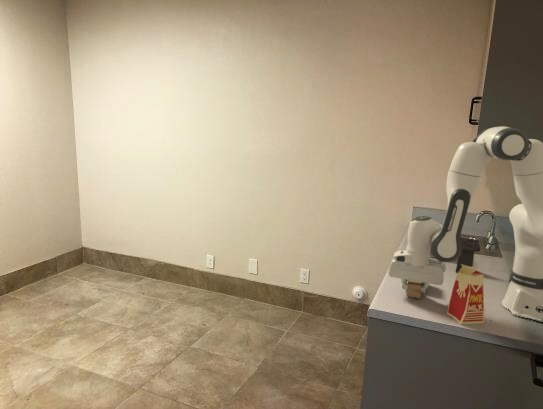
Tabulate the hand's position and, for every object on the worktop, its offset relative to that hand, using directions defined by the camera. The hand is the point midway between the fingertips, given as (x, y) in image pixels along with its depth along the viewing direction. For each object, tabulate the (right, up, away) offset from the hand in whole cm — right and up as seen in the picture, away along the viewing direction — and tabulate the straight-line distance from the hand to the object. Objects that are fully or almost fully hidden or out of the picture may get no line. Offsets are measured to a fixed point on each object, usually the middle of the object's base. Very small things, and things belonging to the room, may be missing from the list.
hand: (413, 290), depth 155 cm
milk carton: (+12, -6, -15) cm, 21 cm away
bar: (+3, 0, +12) cm, 12 cm away
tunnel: (+4, 0, +10) cm, 11 cm away
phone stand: (+34, +3, +29) cm, 45 cm away
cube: (0, -2, +1) cm, 2 cm away
